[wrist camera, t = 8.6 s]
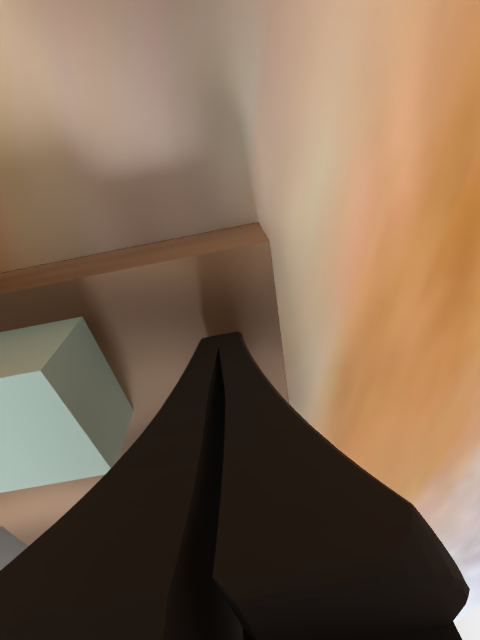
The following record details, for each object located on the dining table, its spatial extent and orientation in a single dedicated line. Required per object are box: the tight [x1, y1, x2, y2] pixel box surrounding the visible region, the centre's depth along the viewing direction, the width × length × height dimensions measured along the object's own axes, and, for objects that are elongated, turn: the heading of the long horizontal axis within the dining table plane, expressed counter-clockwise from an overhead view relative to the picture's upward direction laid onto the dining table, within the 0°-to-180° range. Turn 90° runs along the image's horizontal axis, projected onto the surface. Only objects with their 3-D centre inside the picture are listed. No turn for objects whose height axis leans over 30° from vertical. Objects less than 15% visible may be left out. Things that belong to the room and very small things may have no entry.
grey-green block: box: [0, 317, 133, 493], centre depth 9 cm, size 4×4×3 cm
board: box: [0, 222, 289, 546], centre depth 14 cm, size 17×16×2 cm
